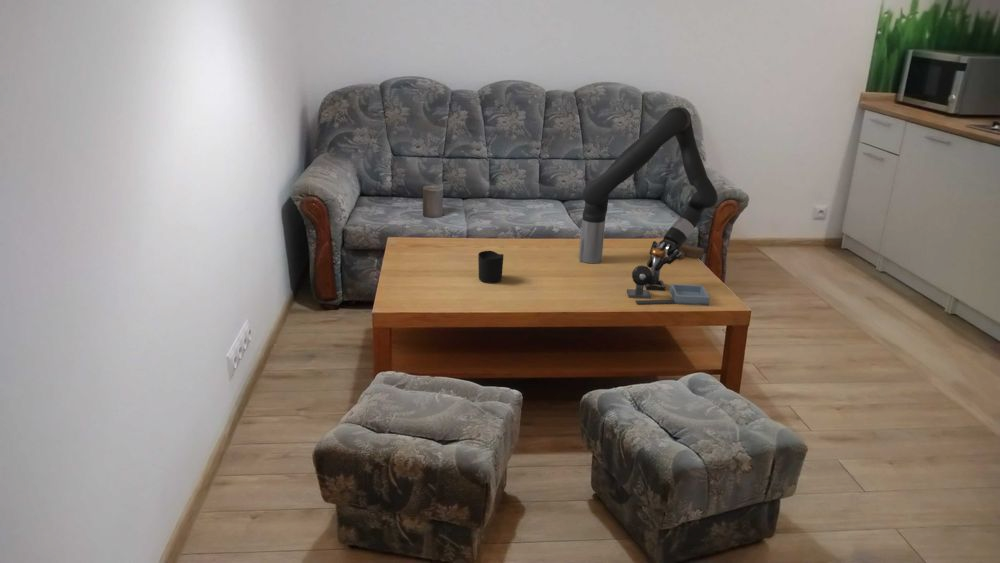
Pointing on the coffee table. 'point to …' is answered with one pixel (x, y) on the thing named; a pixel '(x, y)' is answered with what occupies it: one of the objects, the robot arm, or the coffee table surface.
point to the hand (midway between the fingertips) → (652, 268)
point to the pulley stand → (640, 282)
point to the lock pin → (657, 256)
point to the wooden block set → (690, 252)
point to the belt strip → (654, 302)
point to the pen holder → (490, 266)
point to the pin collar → (659, 288)
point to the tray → (689, 294)
